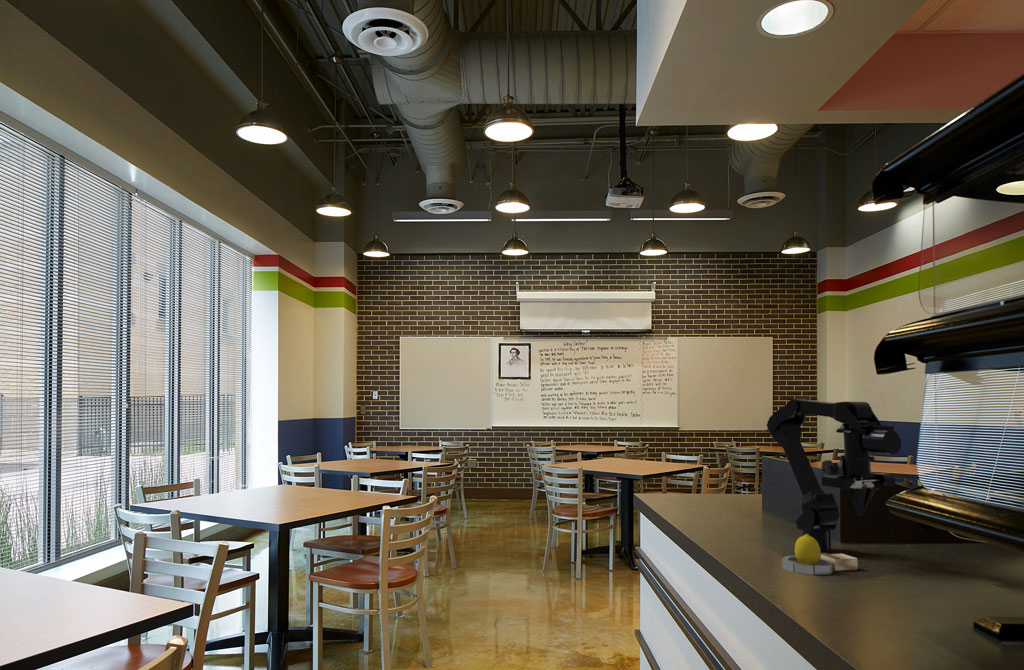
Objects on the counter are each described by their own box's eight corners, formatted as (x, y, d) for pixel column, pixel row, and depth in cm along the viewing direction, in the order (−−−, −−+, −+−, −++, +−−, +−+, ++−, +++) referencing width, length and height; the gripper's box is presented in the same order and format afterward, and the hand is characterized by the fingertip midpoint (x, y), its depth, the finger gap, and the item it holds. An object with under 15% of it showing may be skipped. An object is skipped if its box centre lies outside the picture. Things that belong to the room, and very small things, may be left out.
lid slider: (842, 564, 162) (842, 552, 162) (857, 569, 157) (857, 556, 157) (820, 565, 160) (820, 553, 161) (835, 570, 155) (834, 558, 156)
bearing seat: (812, 563, 163) (812, 554, 163) (842, 573, 153) (842, 564, 153) (774, 565, 160) (774, 556, 161) (802, 576, 150) (802, 566, 151)
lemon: (824, 569, 157) (823, 534, 158) (815, 573, 153) (814, 537, 154) (800, 565, 161) (799, 531, 161) (791, 569, 157) (790, 534, 157)
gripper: (858, 449, 179) (860, 509, 178) (803, 450, 173) (805, 512, 171) (895, 452, 169) (898, 515, 167) (838, 453, 162) (841, 519, 161)
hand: (860, 515), depth 167 cm, fingers closed
